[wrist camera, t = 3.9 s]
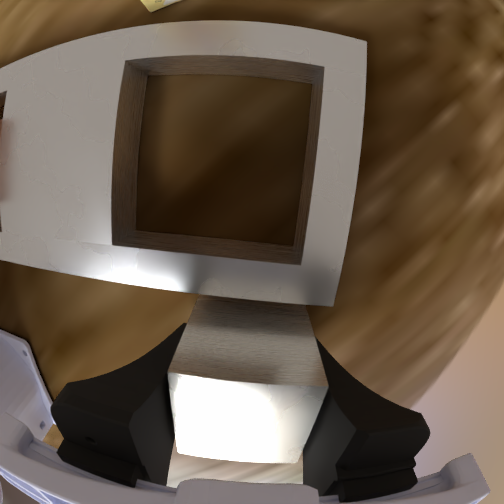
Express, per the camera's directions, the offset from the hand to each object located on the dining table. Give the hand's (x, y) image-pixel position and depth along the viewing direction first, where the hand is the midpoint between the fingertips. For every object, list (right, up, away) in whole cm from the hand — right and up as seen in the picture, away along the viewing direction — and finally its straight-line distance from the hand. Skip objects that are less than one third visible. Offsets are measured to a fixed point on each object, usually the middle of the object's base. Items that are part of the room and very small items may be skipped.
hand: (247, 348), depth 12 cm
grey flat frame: (-8, +9, -1) cm, 12 cm away
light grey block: (0, 0, +1) cm, 1 cm away
